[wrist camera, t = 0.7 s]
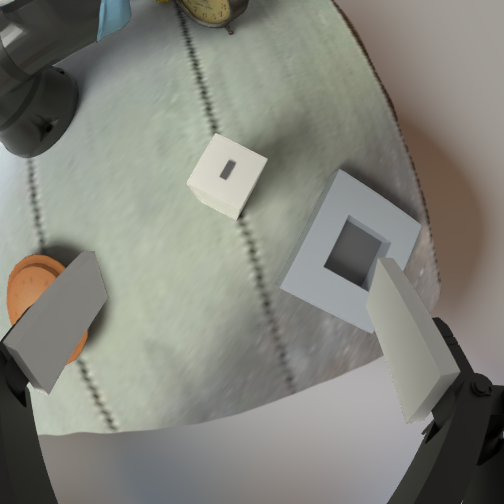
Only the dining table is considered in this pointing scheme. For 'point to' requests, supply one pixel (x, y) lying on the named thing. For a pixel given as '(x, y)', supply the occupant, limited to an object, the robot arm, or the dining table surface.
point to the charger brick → (226, 176)
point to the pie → (34, 288)
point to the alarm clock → (213, 11)
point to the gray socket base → (347, 248)
